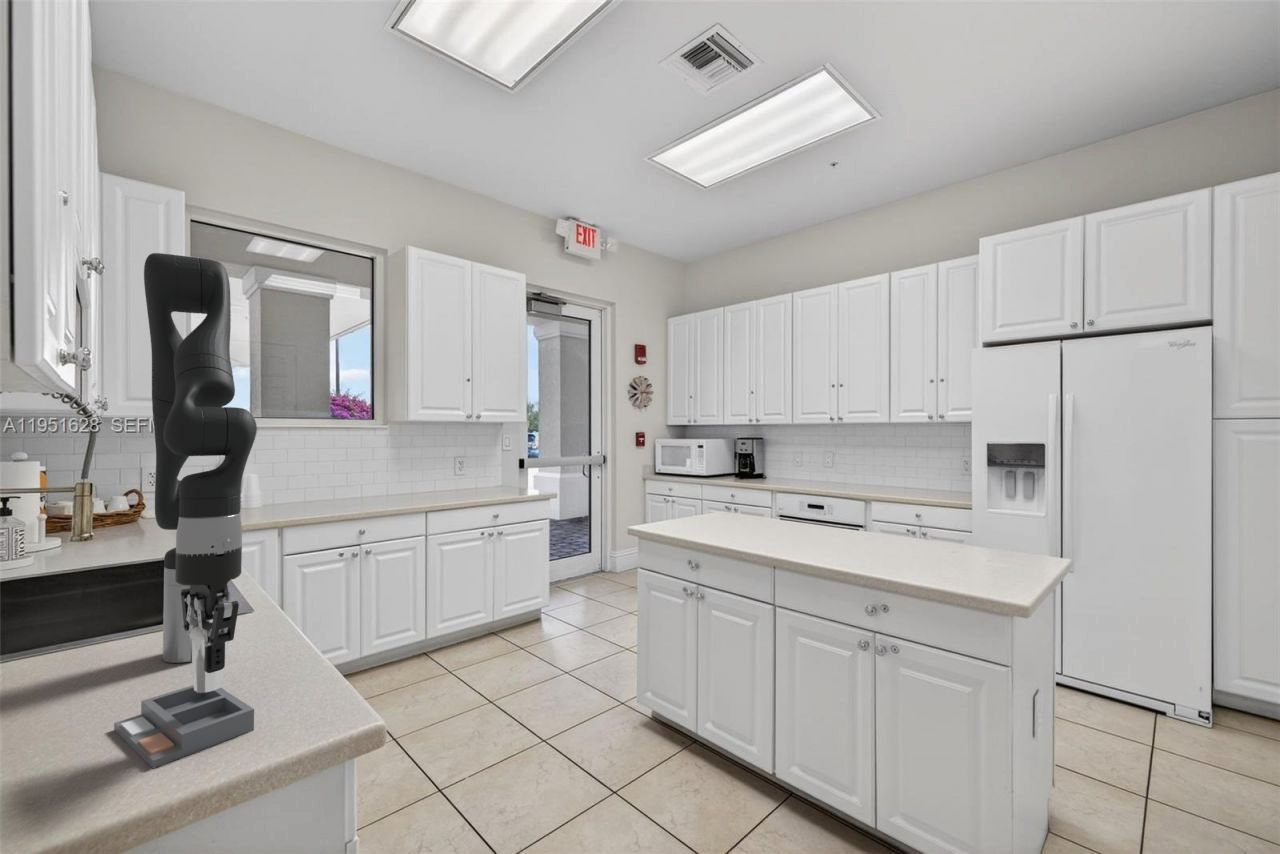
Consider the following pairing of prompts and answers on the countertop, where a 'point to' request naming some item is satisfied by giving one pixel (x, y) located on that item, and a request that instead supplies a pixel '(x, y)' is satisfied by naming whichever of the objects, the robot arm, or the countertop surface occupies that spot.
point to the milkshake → (201, 678)
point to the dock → (184, 724)
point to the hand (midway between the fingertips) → (207, 665)
